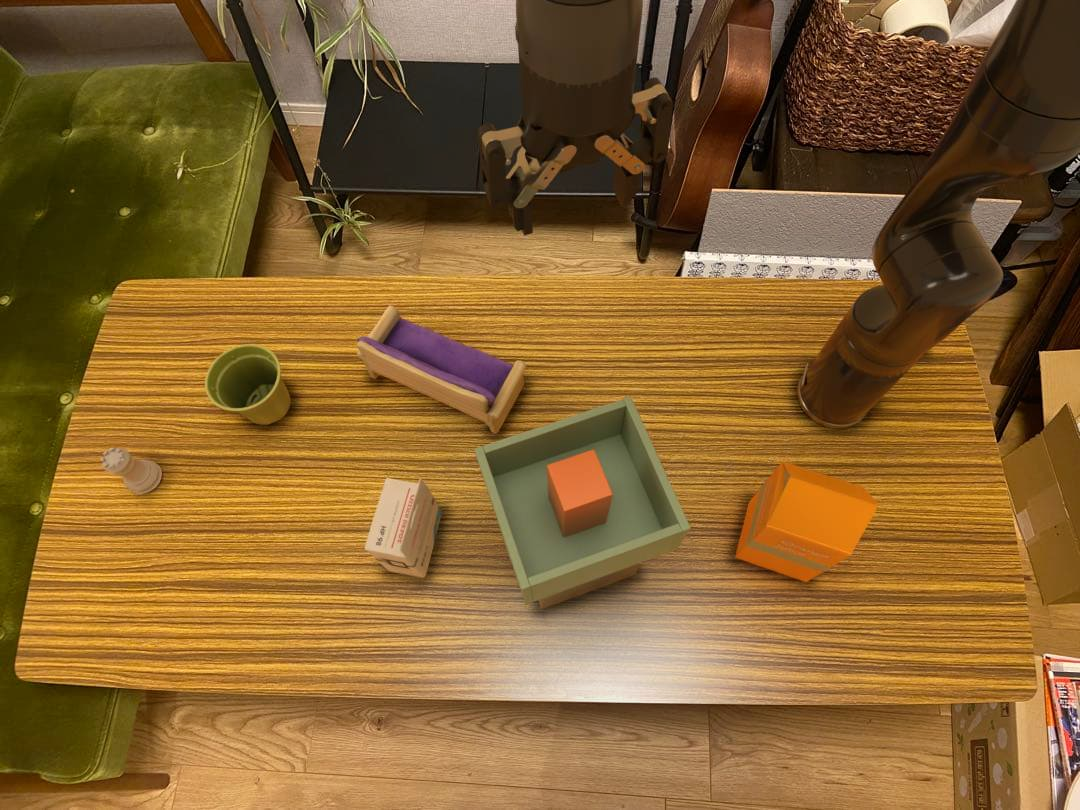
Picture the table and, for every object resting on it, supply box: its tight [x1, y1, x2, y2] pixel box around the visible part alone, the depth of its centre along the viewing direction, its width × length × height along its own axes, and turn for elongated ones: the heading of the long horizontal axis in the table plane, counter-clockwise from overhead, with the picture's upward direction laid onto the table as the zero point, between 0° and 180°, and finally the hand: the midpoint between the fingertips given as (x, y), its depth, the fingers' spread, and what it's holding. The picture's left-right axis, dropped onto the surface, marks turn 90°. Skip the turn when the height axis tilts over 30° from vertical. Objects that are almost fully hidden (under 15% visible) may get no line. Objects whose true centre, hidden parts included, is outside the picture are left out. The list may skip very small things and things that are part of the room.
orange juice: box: [734, 461, 880, 583], centre depth 77 cm, size 8×9×20 cm
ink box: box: [364, 477, 443, 578], centre depth 81 cm, size 9×5×15 cm, turn 168°
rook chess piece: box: [100, 447, 163, 495], centre depth 88 cm, size 4×4×8 cm
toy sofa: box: [356, 304, 527, 435], centre depth 92 cm, size 21×9×10 cm, turn 64°
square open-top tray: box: [473, 395, 692, 605], centre depth 67 cm, size 16×14×8 cm
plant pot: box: [204, 343, 292, 426], centre depth 92 cm, size 9×9×9 cm
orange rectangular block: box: [547, 449, 613, 537], centre depth 65 cm, size 4×4×9 cm
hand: (573, 212), depth 58 cm, fingers open, 8 cm apart
